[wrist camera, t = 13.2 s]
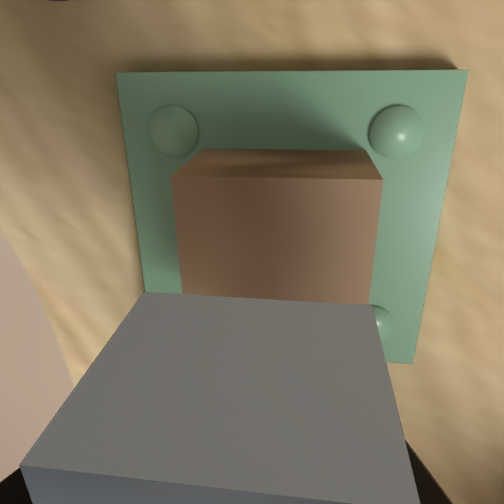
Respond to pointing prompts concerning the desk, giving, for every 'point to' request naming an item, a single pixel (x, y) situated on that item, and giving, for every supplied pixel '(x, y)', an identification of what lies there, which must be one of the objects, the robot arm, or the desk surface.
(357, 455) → the grey cube
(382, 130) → the baseplate
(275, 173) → the walnut brick
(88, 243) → the desk surface
